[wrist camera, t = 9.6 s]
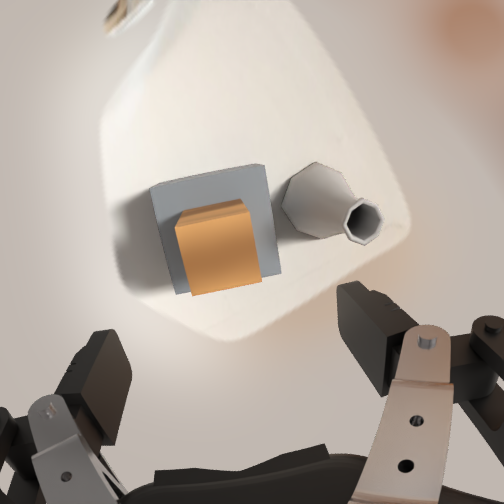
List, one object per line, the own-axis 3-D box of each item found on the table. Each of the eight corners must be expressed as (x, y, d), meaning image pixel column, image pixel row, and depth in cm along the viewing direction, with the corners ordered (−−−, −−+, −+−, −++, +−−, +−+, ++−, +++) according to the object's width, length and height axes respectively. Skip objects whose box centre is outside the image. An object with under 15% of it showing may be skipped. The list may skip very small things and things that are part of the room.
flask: (322, 250, 32) (364, 289, 23) (267, 207, 30) (293, 233, 20) (364, 195, 31) (422, 214, 21) (313, 148, 29) (359, 147, 19)
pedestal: (159, 183, 28) (149, 188, 23) (255, 163, 29) (264, 165, 24) (180, 273, 31) (175, 294, 26) (270, 255, 31) (281, 273, 27)
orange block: (183, 210, 24) (174, 227, 18) (240, 198, 24) (249, 212, 19) (196, 264, 25) (192, 296, 20) (250, 253, 26) (262, 281, 20)
